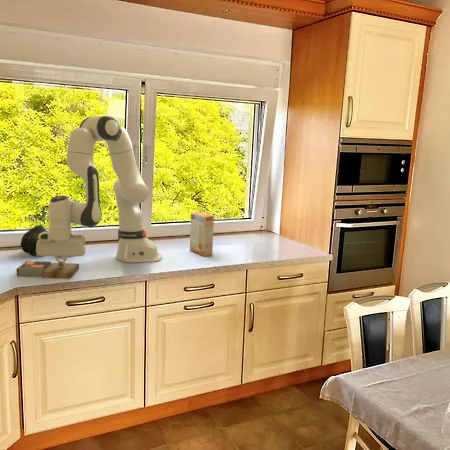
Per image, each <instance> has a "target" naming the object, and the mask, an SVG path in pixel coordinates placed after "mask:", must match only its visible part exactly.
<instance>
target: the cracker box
mask: <svg viewBox="0 0 450 450" xmlns="http://www.w3.org/2000/svg"><path fill="white" fill-rule="evenodd" d="M214 218H215V216H214V215H211V214H208V213H205V212H201V211H195V212H194V211H193V212H190V232H189V233H190V234H189V235H190V236H189V251H190V252H192V253H195V254H196V255H197V254H198V255H199V256H201V257H210V256H213V250H214V249H213V248H214V247H213V245H214V244H213V242H214V223H215V221H214V220H215V219H214Z"/></svg>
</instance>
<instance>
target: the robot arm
mask: <svg viewBox="0 0 450 450" xmlns="http://www.w3.org/2000/svg"><path fill="white" fill-rule="evenodd" d="M103 141H104V142H105V143H106V146H107V149H108V153H109V158H110V161H111V166H112V169H113V172H114V173H115V174H116V176H117V178H118V179H117V180H115V181H114V183H113V185H112V190H113V192H114V193H113V194H114V195H115V199H116V200H115V201H116V205H117V211H118V230H117V241H118V245H117V251H116V254H115V258H116V259H117V260H119V261H122V262H124V263H152V262H153V263H155V262H157V263H158V262H159V261H161V260H162V259H163V255H162V254H161V253H160V252H158V247H157V245H156V244H155V242H153V241H152V240H150V238H148V237H147V230H146V229H145V230H144V229H143V213H142V210H141V208H140V204H141V203H144V202H145V201H146V200H148V198H149V195H150V190H149V187H148V186H147V184H146V183H145V181H144V179H143V176H142V174H141V172H140V170H139V167H138V165H137V161H136V157H135V152H134V149H133V144H132V141H131V138H130V136H129V133H128V131H127V129H126V128H124V127H122V126H121V124H120V123H119V121H118V119H116V118H115V117H114V116H111V115H94V116H89V117H87V118H85V119H83V120H82V121H81V122H80V124H79V127H77V128H74V129H73V130H72V131H71V133H70V136H69V140H68V145H67V151H66V164H67V167H68V168H69V170H70V171H71V172H72V173H73V174H75V175H77V176H78V177H79V178H81V179H82V181H83V182H84V185H85V203H84V202H80V201H79V202H78V201H75V200H72V199H71V198H69V197H68V196H67V195H57V196H54V197H52V198H50V201H49V204H48V219H49V228H48V230H46V231H44V232H42V233H40V234H39V235H38V239H39V240H38V241H37V244H36V254H37V255H36V256H40V257H42V256H43V257H45V256H46V257H48V256H49V257H52V256H53V257H54V259H55V261H56V263H58V266H65V264H66V261H67V260H68V258H69V257H84V256H85V254H86V245H85V244H86V237H85V236H83V235H82V234H78V235H73V234H71V233H72V224H74V225H78V226H79V225H80V226H84V227H87V228H94V227H96V226H97V225H98V224H100V222H101V221H102V217H103V215H102V208H101V199H100V180H99V172H98V169H97V168H96V166H95V163H94V153H95V152H94V151H95V150H94V148H95V145H96V143H97V142H103ZM60 257H63V260H61V259H60Z"/></svg>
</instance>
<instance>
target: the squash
mask: <svg viewBox="0 0 450 450" xmlns="http://www.w3.org/2000/svg"><path fill="white" fill-rule="evenodd" d="M44 227H45V226H43V225H42V224H39V225H36V226H34V227H32V228H30V229H29V230H28V231H26V232H25V233H24V234H23V236H22V237H21V240H20V247H21V249H22V251H23V252H24V253H26V254H30V256H33V257H36V256H38V255H37V254H36V244H37V241H38V240H39V239H38V235H39V234H40V233H42V232H44V231H47V229H45V228H44Z"/></svg>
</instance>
